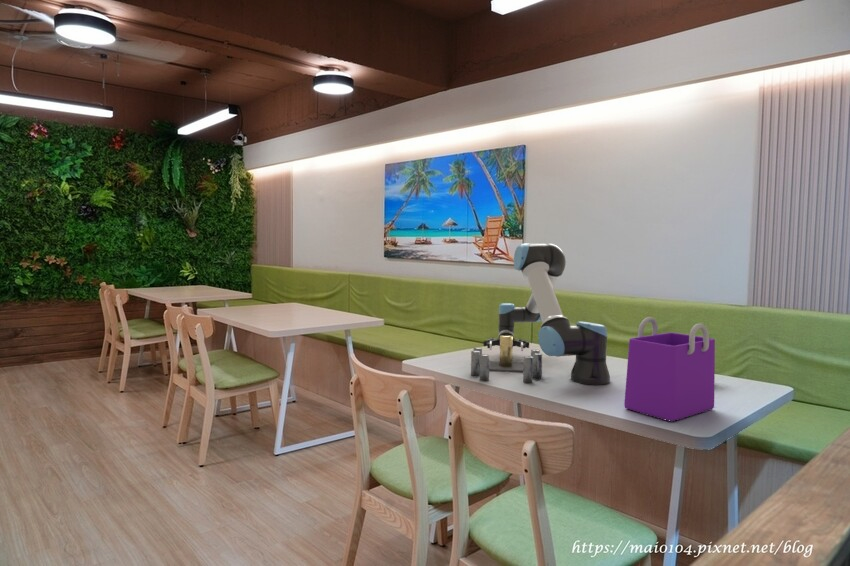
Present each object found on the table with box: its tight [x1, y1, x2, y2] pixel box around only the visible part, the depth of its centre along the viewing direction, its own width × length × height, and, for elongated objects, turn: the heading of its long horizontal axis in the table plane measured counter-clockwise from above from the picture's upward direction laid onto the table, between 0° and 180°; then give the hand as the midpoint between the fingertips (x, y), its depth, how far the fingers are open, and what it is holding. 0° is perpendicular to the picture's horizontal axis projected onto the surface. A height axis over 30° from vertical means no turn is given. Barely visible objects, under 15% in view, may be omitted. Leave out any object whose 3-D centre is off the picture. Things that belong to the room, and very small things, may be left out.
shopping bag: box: [623, 316, 716, 422], centre depth 179 cm, size 28×22×30 cm
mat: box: [489, 360, 524, 373], centre depth 239 cm, size 16×16×1 cm
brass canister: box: [499, 335, 514, 367], centre depth 238 cm, size 6×6×13 cm
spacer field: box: [470, 346, 543, 384], centre depth 222 cm, size 29×18×10 cm, turn 82°
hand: (506, 347), depth 235 cm, fingers open, 13 cm apart
